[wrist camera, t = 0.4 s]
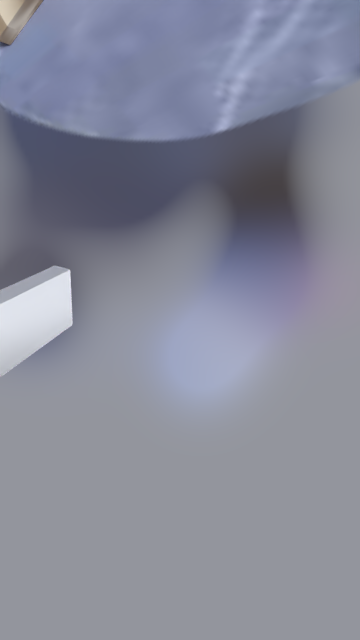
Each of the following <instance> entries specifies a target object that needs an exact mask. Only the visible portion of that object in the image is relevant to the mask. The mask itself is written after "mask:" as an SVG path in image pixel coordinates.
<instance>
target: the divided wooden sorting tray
mask: <svg viewBox="0 0 360 640" xmlns="http://www.w3.org/2000/svg"><path fill="white" fill-rule="evenodd" d="M42 1H43V0H0V41H1V42H3V43H6V44H9V45H11V44H12V42H13V41H14V40H15V38H16V37H17V36H18V34H19V33H20V31H21V30H22V29H23V27H24V26H25V25H26V23H27V22H28V21H29V19H30V18H31V16H32V15H33V14H34V12H35V11H36V10H37V8H38V7H39V5H40V4H41V3H42Z"/></svg>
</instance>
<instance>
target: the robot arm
mask: <svg viewBox="0 0 360 640" xmlns="http://www.w3.org/2000/svg"><path fill="white" fill-rule="evenodd" d="M71 325H72V301H71V278H70V270H69V269H66V268H62V267H58V266H53V267H51V268H49V269H46V270H44V271H42V272H40V273H37V274H35V275H33V276H31V277H28V278H26V279H24V280H22V281H19V282H18V283H15V284H13V285H11V286H9V287H6V288H4V289H2V290H0V377H1V376H3V375H4V374H5V373H6V372H8V371H9V370H11V369H12V368H14V367H15V366H16V365H18V364H19V363H20V362H22V361H23V360H25V359H26V358H27V357H29V356H30V355H31V354H33V353H34V352H36V351H37V350H38V349H40V348H41V347H42V346H44V345H45V344H47V343H48V342H49V341H51V340H52V339H53V338H55V337H56V336H58V335H59V334H60V333H62V332H63V331H64V330H65V329H67V328H69V327H70V326H71Z"/></svg>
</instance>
